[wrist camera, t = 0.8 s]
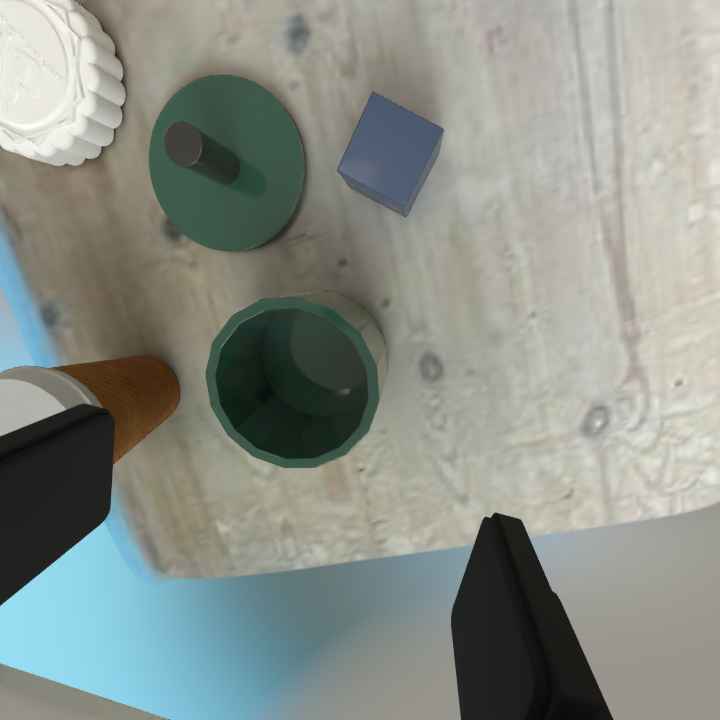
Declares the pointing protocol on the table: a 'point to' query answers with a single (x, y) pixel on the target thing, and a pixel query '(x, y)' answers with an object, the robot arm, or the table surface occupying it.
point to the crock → (298, 377)
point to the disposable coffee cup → (93, 395)
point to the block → (390, 154)
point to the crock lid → (226, 163)
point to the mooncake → (57, 82)
